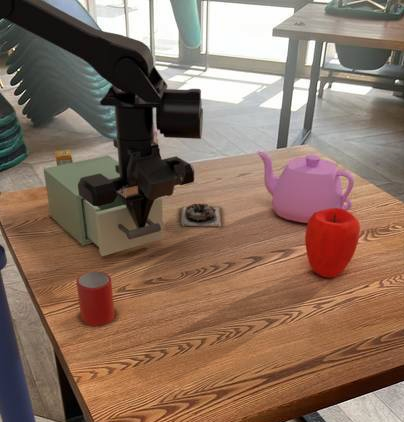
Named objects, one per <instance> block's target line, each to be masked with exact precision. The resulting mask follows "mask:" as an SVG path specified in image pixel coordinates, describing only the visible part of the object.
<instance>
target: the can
mask: <svg viewBox="0 0 404 422" xmlns="http://www.w3.org/2000/svg"><path fill="white" fill-rule="evenodd" d="M75 283H76V289H77V295H78V296H77V297H78V303H79V310H80V318H81V321H82V323H84V324H86V325H88V326H92V327H93V326H94V327H98V326H105V325H107V324H110V323H111V322H112V321H113V320H114V319H115V304H114V296H113V295H114V293H113V283H112V277H111V276H110V275H109V274H107V273H106V272H103V271H89V272H84V273H82V274H80V275H79V276H78V277H77V279H76V281H75Z"/></svg>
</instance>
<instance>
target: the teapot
mask: <svg viewBox="0 0 404 422" xmlns="http://www.w3.org/2000/svg"><path fill="white" fill-rule="evenodd" d="M256 154H257V155H258V156H259V157H260V158H261V160H262V163H263V167H264V172H263V173H264V175H263V178H264V186H265V189H266V190H267V192H268V193H269V194H270V196H272V198H271V205H272V208H273V210H274V212H275V214H277V216H278V217H281V218H283V219H285V220H287V221H293V222H297V223H298V222H299V223H303V224H304V223H305V224H308V220H309V219H310V217H311V216H312V215H313V213H314V212H318V211H321V210H325V209H331V208H339V209H342V210H346V211H349V210H351V208H352V206H353V203H352V202H353V201H352V200H351V199H350V198H348V196H350V194H351V192H352V190H353V188H354V184H355V179H354V176H353V175H352V174H351V173H350V172H349V171H347V170H339V169H338V165H337V164H336V163H335V162H333V161H331V160H327V159H322V157H321V156H320V155H318V154H311V153H310V154H306V155H305V156H304V157H300V156H299V157H293V158H291V159H290V160H289V161H288V162H287V164H286V165H285V167H284V168H283V170H282V172H281V174H280V175H279V177H278V178H277V176H276V175H275V174H274V170H273V169H274V168H273V161H272V158H271V157H270V156H269V155H268V154H267V153H264V152H262V151H259V150H257V151H256ZM341 177H345V178H346V179H347V180H348V185H347V188H346V190H345V191H344V193H343V187H342V186H343V185H342V180H341ZM345 203H347V205H346V204H345Z"/></svg>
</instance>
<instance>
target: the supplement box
mask: <svg viewBox="0 0 404 422" xmlns="http://www.w3.org/2000/svg"><path fill="white" fill-rule="evenodd" d="M54 156H55V157H54V158H55V161H56V166H59V165H64V164H69V163H74V161H73V156H72V153H71V150H70V149H66V150H58V151H55V152H54Z"/></svg>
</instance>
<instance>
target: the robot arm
mask: <svg viewBox="0 0 404 422" xmlns="http://www.w3.org/2000/svg"><path fill="white" fill-rule="evenodd" d="M0 20H6V21H8V22H10V23H12V24H14V25H16V26H18V27H20V28H22V29H24V30H25V31H27V32H29V33H32V34H33V35H34V36H37V37H39V38H41V39H43V40H45V41H47V42H49V43H51V44H53V45H54V46H57V47H58V48H60V49H62V50H64V51H65V52H68V53H69V54H72V55H74V56H76V57H78V58H79V59H81V60H83V61H84V62H85V63H87V64H88V65H89V66H90V67H91V68H92V69H93V70H94V71H95V72H96V73H97V74H98V75H99V76H100V77H101V78H103V79H104V80H105V81H107V82H108V83H109V84H111V85H110V86H109V88H108V90H107V92H106V93H105V94H104V96H103V97H102V98H101V99H100V101H99V104H100V105H101V106H103V107H114V118H115V119H114V120H115V131H116V138H113V139H112V142H113V147H114V148H116V149H117V157H118V159H117V160H118V162H119V165H116V166H115V168H116V172H117V173H119V174H120V177H118V178H114V179H108V178H106V177H105V176H103V175H102V174H101V173H100V174H95V175H91V176H86V177H82V178H81V179H80V181H79V183H78V191H79V195H80V196H81V197H83V198H84V199H85V200H86V201H88V202H89V203H90V204H91V205H93V206H102V205H106V204H110V203H113V202H114V201H115V199H116V198H117V196H118V197H119V198H120V199H122V200H123V202H124V203H125V205H126V207H127V209H128V211H129V213H130V215H131V217H132V219H133V221H134V223H135V225H136V227H137V228H141V227H145V225H146V222H147V219H148V216H149V213H150V210H151V207H152V205H153V202H154V200H155V199H157V198H159V197H161V198H162V197H170V196H172V195H173V194H174V190H175V186H185V185H189V184H192V183H194V182H195V169H194V166H193V165H192V164H191V163H189V162H187V161H186V160H184V159H183V158H181V157H178V156H177V155H176V156H175V155H174V156H171V157H166V158H162V157H161V149H160V145H159V143H158V144H157V143H155V142H154V125H155V126H156V127H157V130H158V131H159V134H160V135H163V137H164V138H171V139H192V140H193V139H195V140H201V139H202V135H203V123H204V108H203V107H202V105H203V103H202V89H200V88H189V89H177V88H176V89H174V88H168V87H169V86H168V84H167V82H166V81H165V80H164V78H163V76H162V75H161V73H160V72H159V71H158V69H157V68H156V67H155V63H154V57H153V53H152V51H151V49H150V48H149V46H148V45H146V43H144V42H142V41H140V40H138V39H136V38H132V37H129V36H125V35H122V34H119V33H115V32H110V31H109V32H108V31H103V30H100V29H98V28H95V27H93V26H91V25H89V24H88V23H86V22H84V21H82V20H80V19H78V18H76V17H74V16H72V15H70V14H68V13H67V12H65V11H63V10H61V9H59V8H58V7H55V6H54V5H52V4H50V3H48V2H46V1H44V0H0ZM154 109H155V122H154ZM1 194H2V193H1V192H0V195H1Z"/></svg>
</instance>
